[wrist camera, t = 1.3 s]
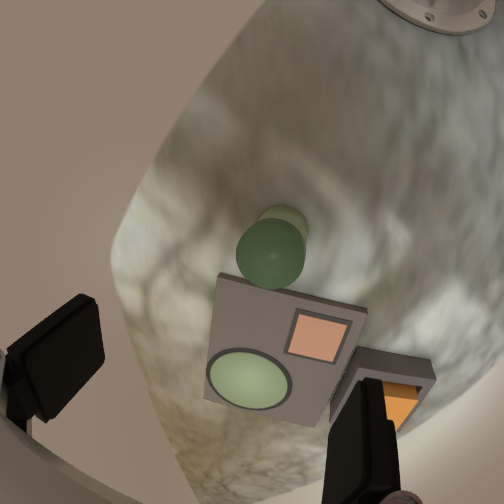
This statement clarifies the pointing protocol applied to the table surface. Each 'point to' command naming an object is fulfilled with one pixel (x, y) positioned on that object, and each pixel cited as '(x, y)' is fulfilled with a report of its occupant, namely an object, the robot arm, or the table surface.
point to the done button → (399, 401)
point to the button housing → (384, 376)
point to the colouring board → (277, 350)
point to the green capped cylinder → (274, 248)
